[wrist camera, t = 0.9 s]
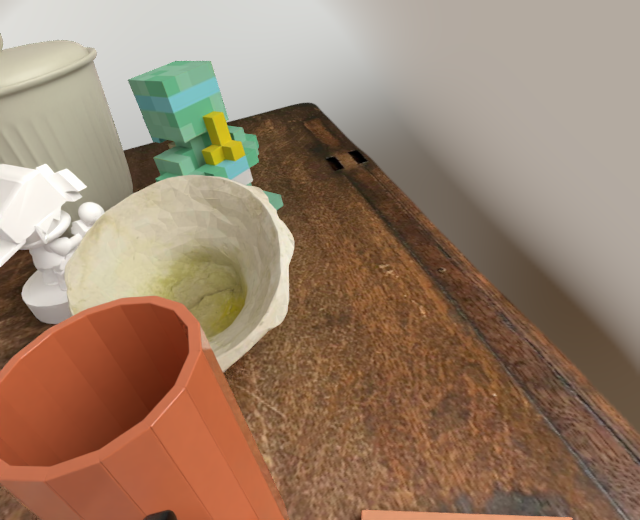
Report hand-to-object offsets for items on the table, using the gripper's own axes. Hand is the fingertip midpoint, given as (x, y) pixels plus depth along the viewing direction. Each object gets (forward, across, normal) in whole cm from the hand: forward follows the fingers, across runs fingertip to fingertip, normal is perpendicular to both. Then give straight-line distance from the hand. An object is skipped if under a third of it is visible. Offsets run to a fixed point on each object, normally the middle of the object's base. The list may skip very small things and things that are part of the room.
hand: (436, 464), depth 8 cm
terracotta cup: (+12, +8, +11) cm, 18 cm away
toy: (+41, +9, -1) cm, 42 cm away
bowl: (+26, +9, +6) cm, 28 cm away
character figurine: (+35, +22, +2) cm, 41 cm away
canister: (+49, +26, -4) cm, 56 cm away
